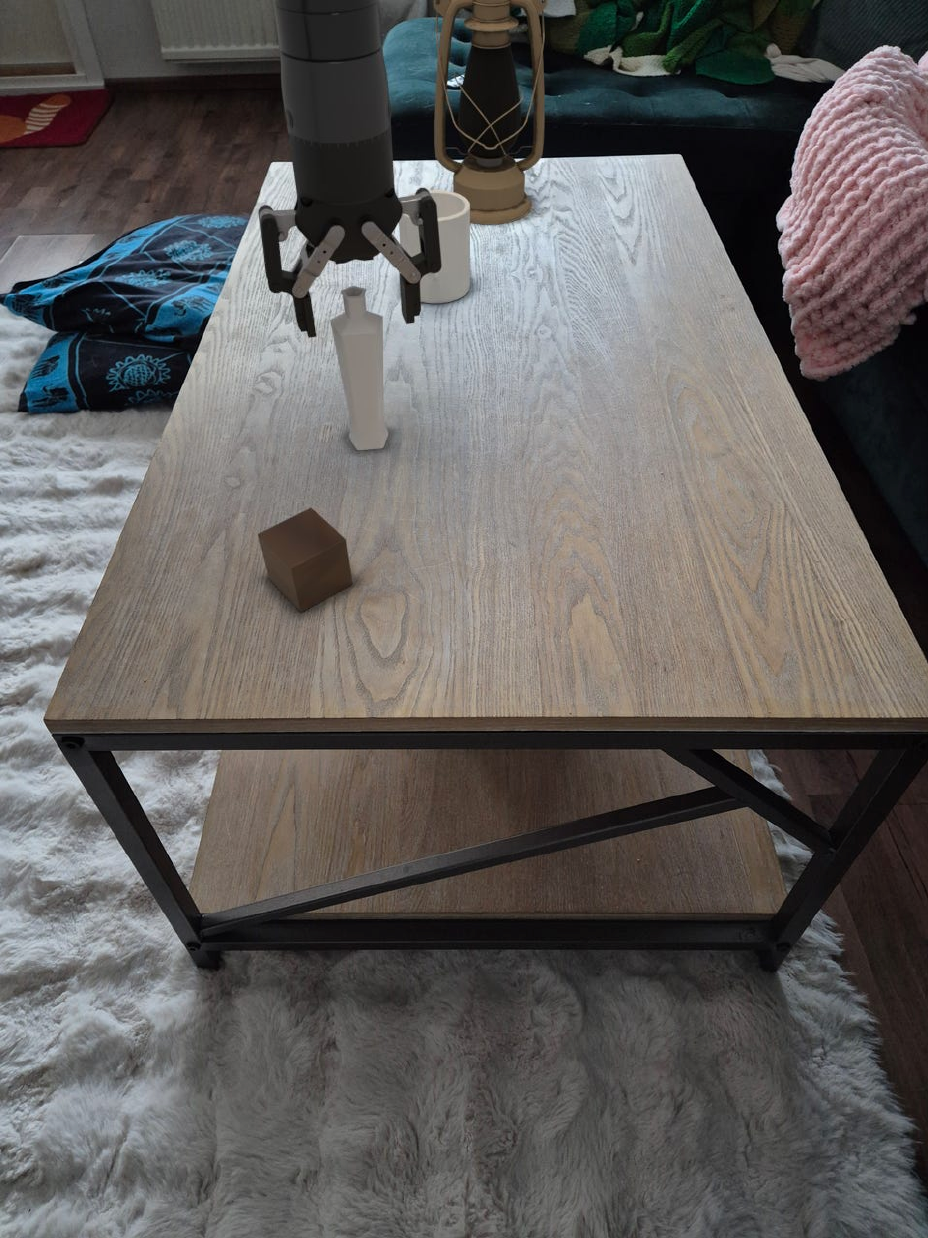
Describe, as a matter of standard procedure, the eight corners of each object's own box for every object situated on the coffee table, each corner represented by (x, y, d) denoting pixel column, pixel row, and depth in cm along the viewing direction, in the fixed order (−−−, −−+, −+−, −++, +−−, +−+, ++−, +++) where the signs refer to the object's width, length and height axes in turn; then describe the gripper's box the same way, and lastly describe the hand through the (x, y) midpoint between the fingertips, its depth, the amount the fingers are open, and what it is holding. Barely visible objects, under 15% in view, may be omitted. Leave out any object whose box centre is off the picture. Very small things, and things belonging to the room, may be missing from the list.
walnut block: (300, 613, 68) (291, 568, 64) (268, 578, 70) (257, 533, 66) (352, 584, 70) (346, 539, 66) (319, 551, 72) (311, 506, 69)
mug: (397, 320, 98) (391, 234, 91) (406, 271, 106) (401, 188, 99) (467, 321, 98) (467, 235, 90) (470, 272, 106) (470, 189, 98)
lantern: (436, 225, 115) (428, -55, 92) (435, 189, 123) (427, -76, 100) (544, 222, 115) (562, -57, 93) (536, 187, 123) (550, -78, 101)
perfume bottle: (400, 445, 82) (390, 297, 71) (358, 457, 81) (340, 309, 70) (383, 420, 85) (370, 274, 74) (341, 431, 84) (322, 285, 73)
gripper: (423, 94, 65) (430, 295, 77) (235, 111, 63) (272, 315, 75) (446, 127, 60) (450, 336, 73) (243, 147, 58) (282, 360, 70)
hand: (359, 326), depth 74 cm, fingers open, 8 cm apart
